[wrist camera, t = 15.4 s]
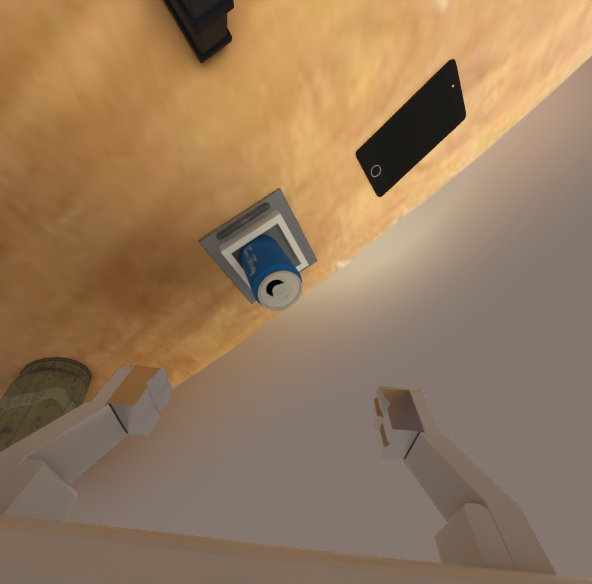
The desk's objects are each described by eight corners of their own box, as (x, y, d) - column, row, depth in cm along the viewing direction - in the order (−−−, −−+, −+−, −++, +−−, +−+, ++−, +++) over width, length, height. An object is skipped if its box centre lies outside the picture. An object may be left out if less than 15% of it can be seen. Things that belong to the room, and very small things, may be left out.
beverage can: (254, 224, 37) (276, 258, 28) (286, 246, 41) (315, 282, 32) (230, 258, 39) (243, 301, 30) (263, 277, 43) (284, 320, 33)
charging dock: (250, 301, 45) (254, 311, 43) (198, 240, 37) (199, 249, 34) (315, 259, 45) (323, 267, 43) (278, 188, 37) (285, 192, 34)
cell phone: (353, 153, 38) (356, 153, 37) (449, 58, 36) (455, 56, 35) (376, 197, 43) (380, 198, 43) (462, 117, 41) (467, 117, 40)
